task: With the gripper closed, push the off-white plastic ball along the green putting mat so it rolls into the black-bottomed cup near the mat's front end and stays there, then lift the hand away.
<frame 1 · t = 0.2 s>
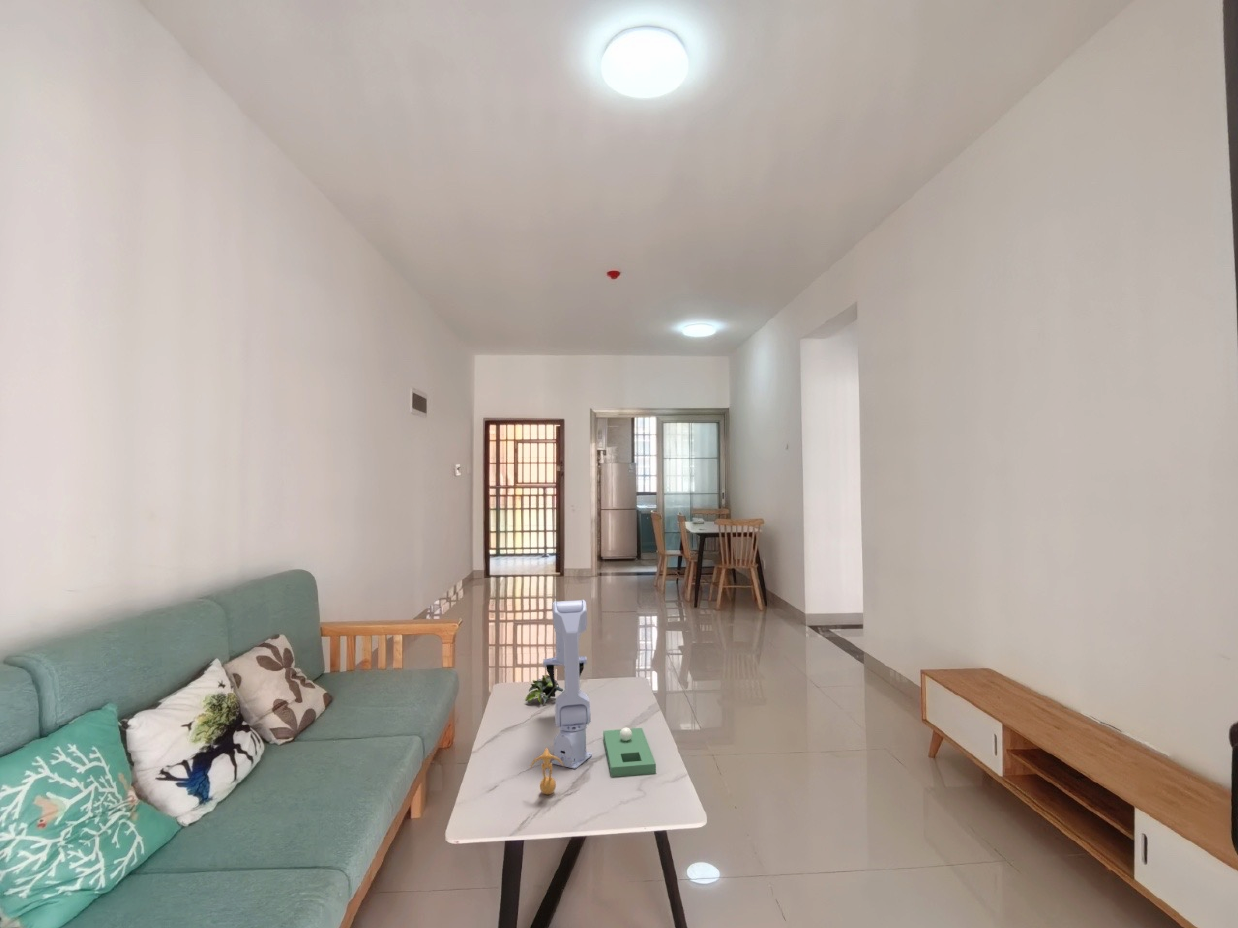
hand: (565, 685, 200), 11 cm above the table, tool pointing down, fingers open, 7 cm apart
passion flower: (544, 703, 213), on the table
ball: (625, 733, 174), point 4 cm above the table, touching putting mat
figurine: (547, 796, 149), on the table
putting mat: (628, 754, 170), on the table
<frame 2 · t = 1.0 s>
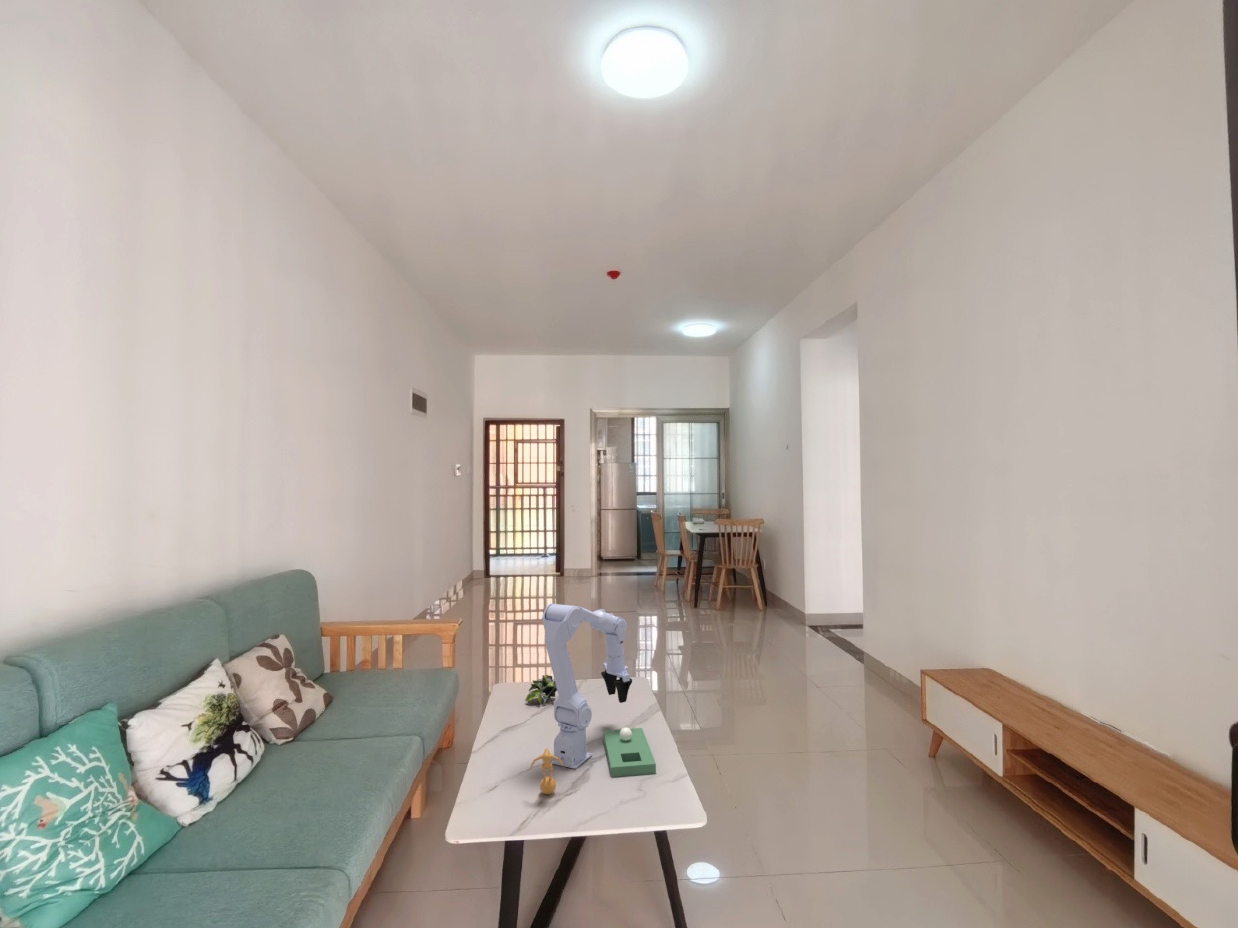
hand: (617, 697, 186), 11 cm above the table, tool pointing down, fingers open, 7 cm apart
nothing on the table moved.
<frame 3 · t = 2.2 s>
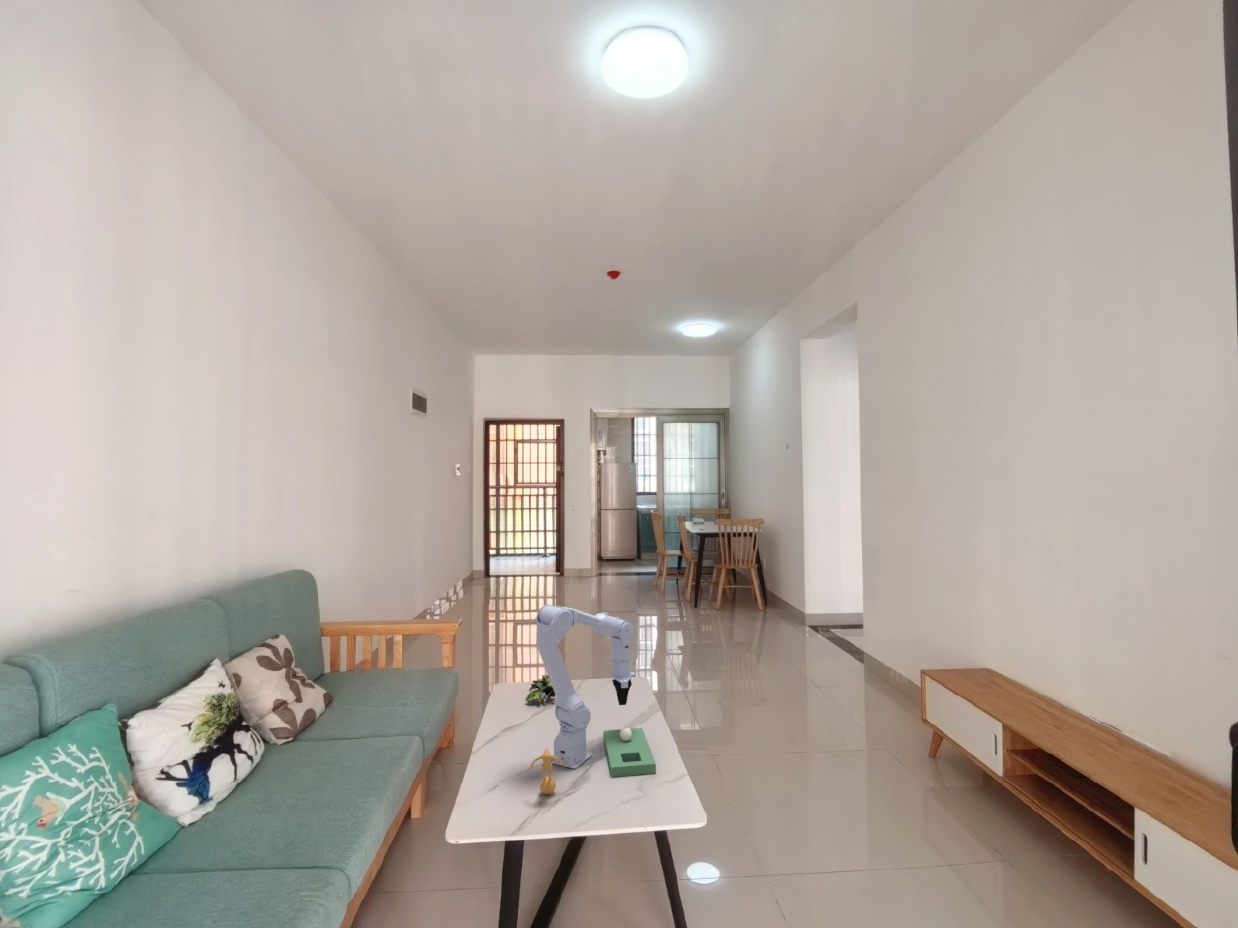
hand: (622, 704, 181), 10 cm above the table, tool pointing down, fingers closed
nothing on the table moved.
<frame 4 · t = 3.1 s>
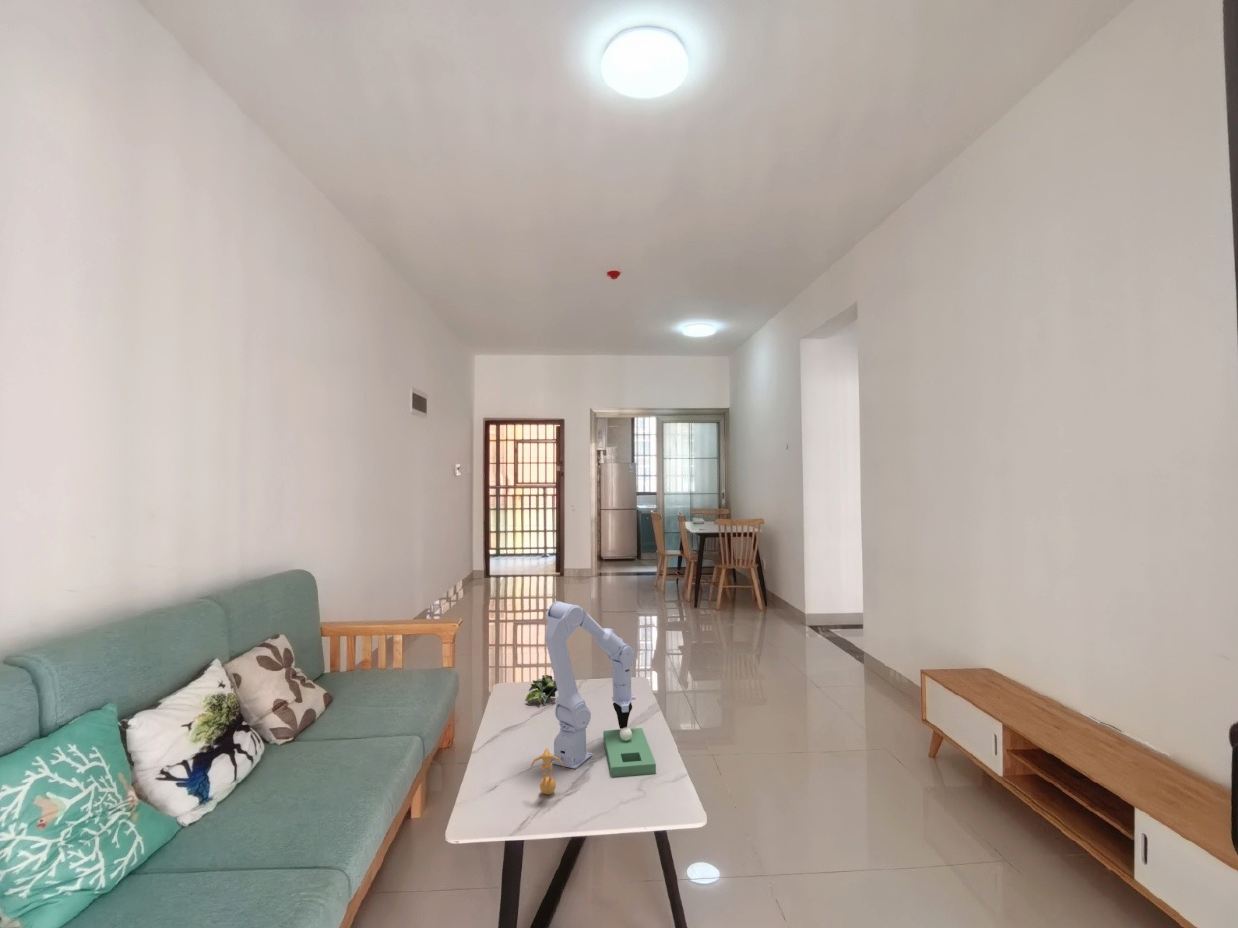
hand: (623, 727, 181), 3 cm above the table, tool pointing down, fingers closed
nothing on the table moved.
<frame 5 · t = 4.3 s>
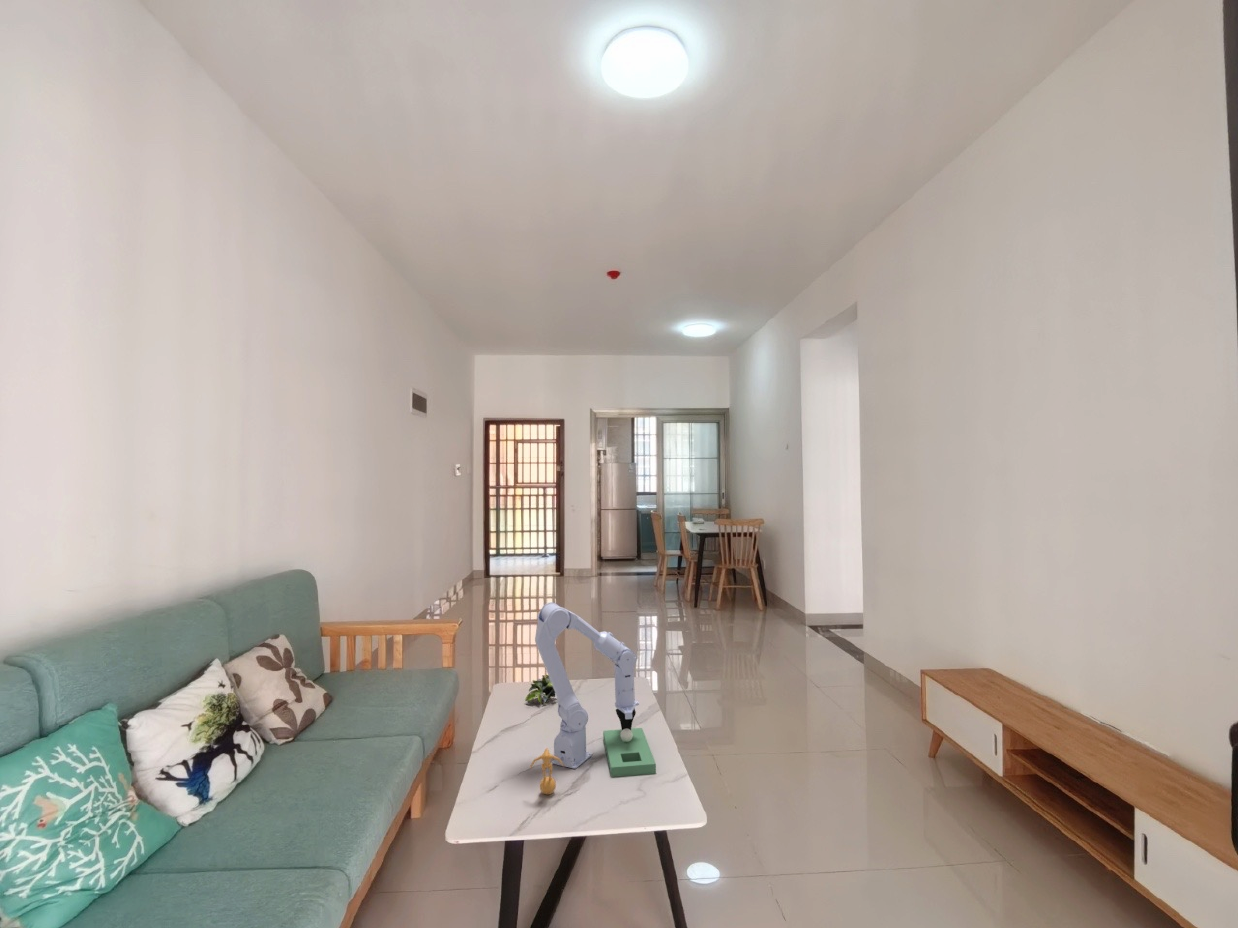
hand: (626, 734, 175), 4 cm above the table, tool pointing down, fingers closed, pressing on ball
ball: (626, 735, 173), point 4 cm above the table, tilted 21°, touching gripper, putting mat
everything else where it was.
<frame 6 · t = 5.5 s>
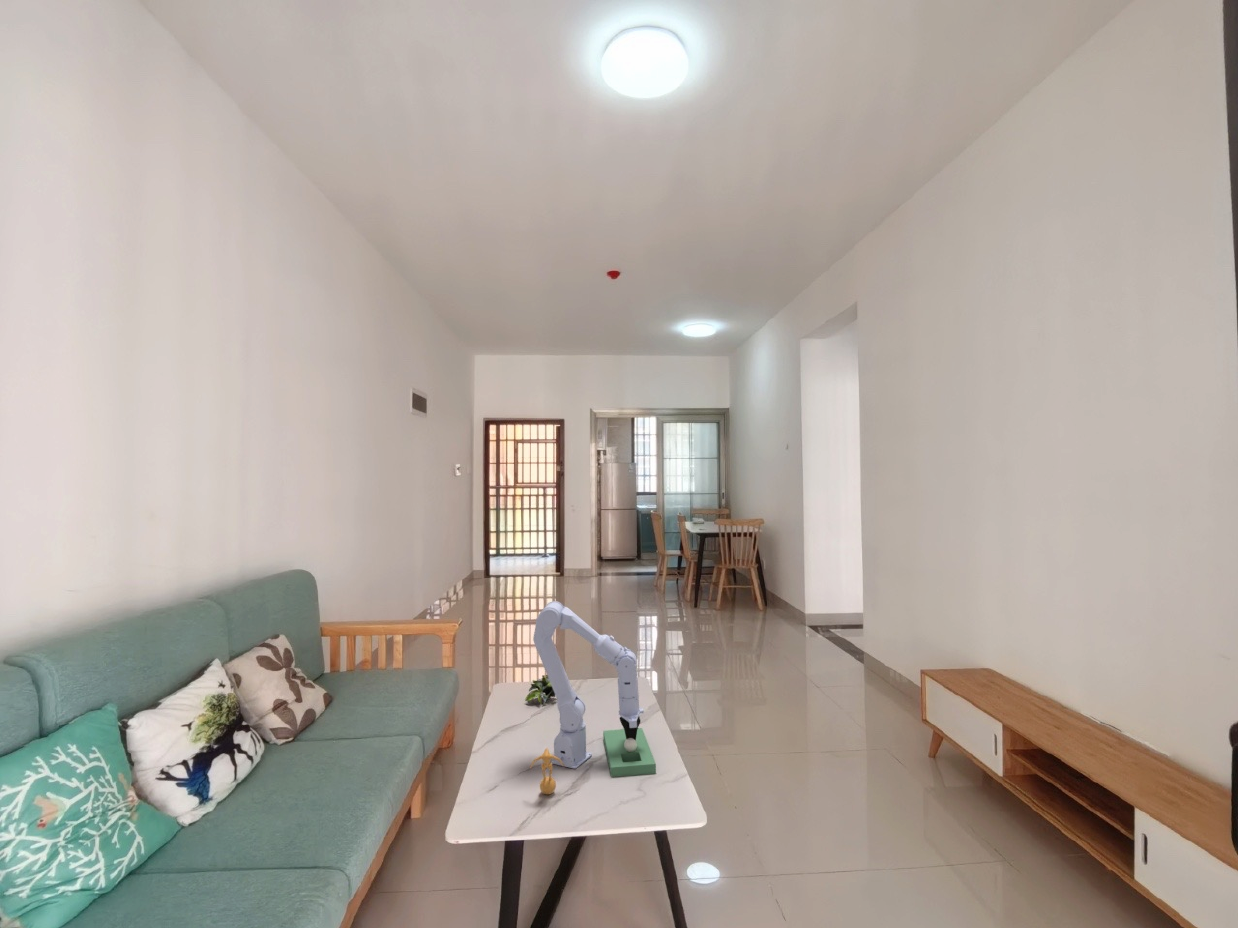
hand: (631, 743, 168), 4 cm above the table, tool pointing down, fingers closed, pressing on ball
ball: (630, 744, 167), point 4 cm above the table, tilted 119°, touching gripper, putting mat
everything else where it was.
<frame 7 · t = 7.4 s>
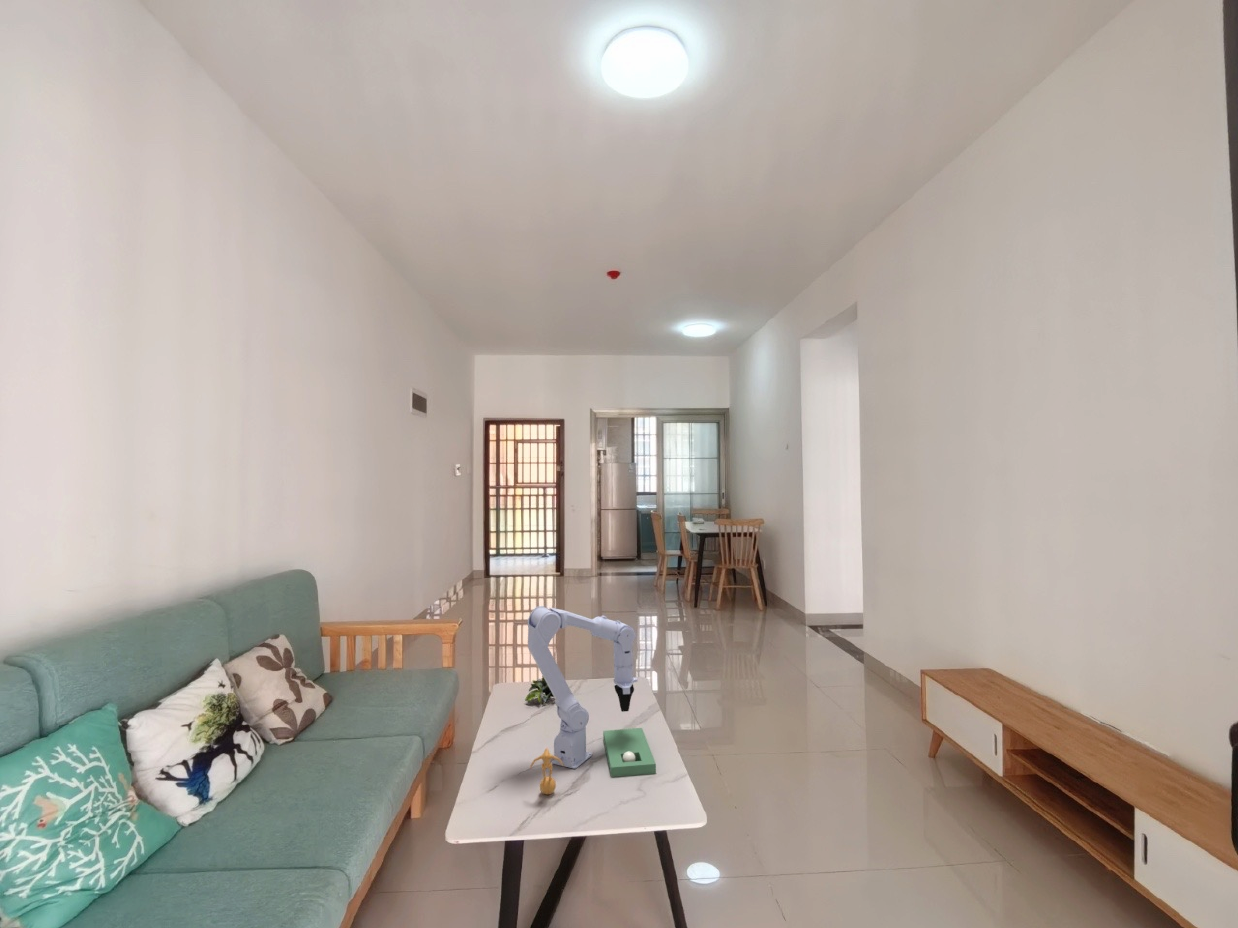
hand: (624, 710, 176), 10 cm above the table, tool pointing down, fingers closed
ball: (628, 758, 163), point 2 cm above the table, tilted 9°, touching putting mat
everything else where it was.
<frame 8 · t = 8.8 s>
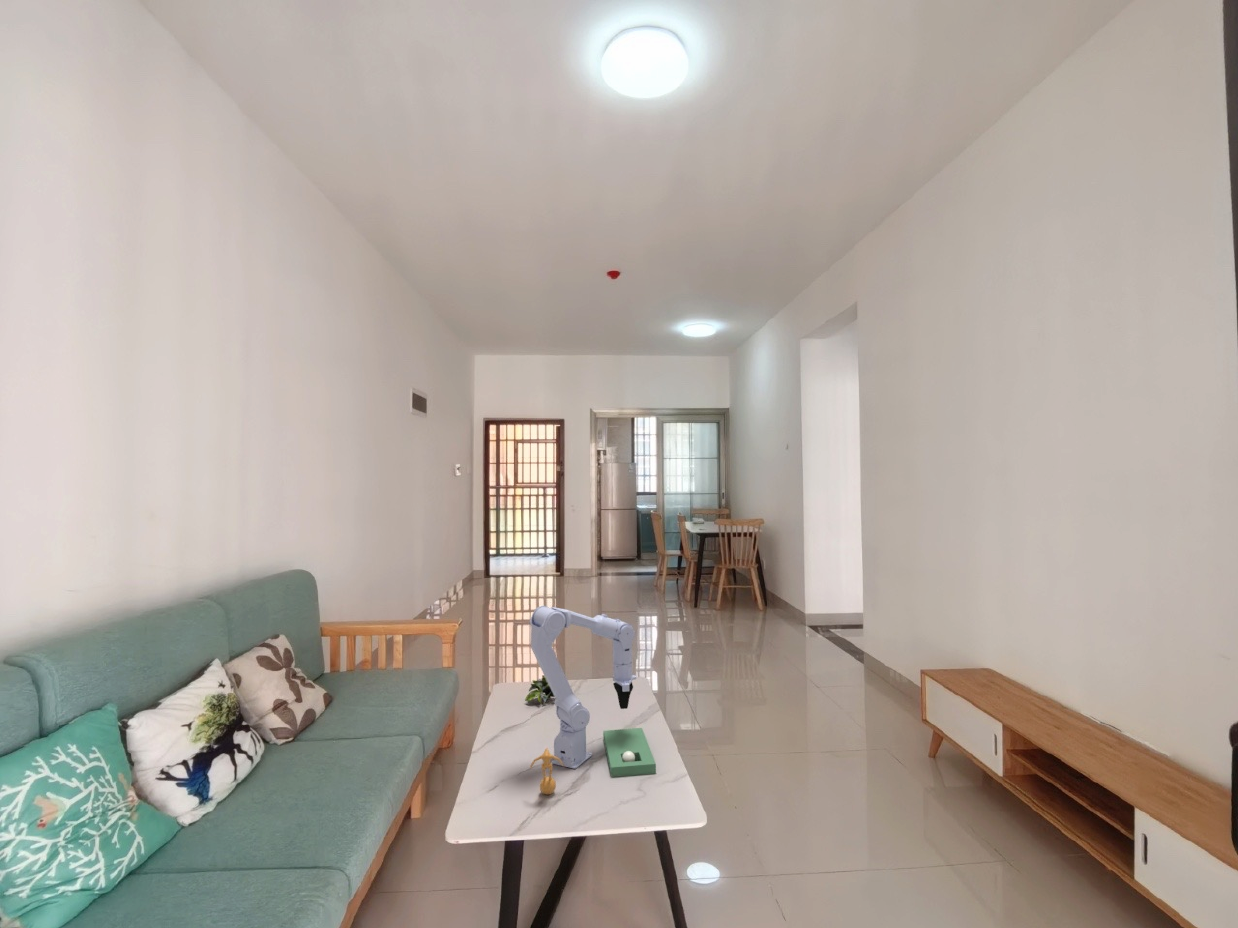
hand: (623, 707, 178), 10 cm above the table, tool pointing down, fingers closed
nothing on the table moved.
at the end: ball 0.8 cm from the target spot on the putting mat, point 2.0 cm above the putting mat's base; ball point 2.0 cm above the table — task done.
